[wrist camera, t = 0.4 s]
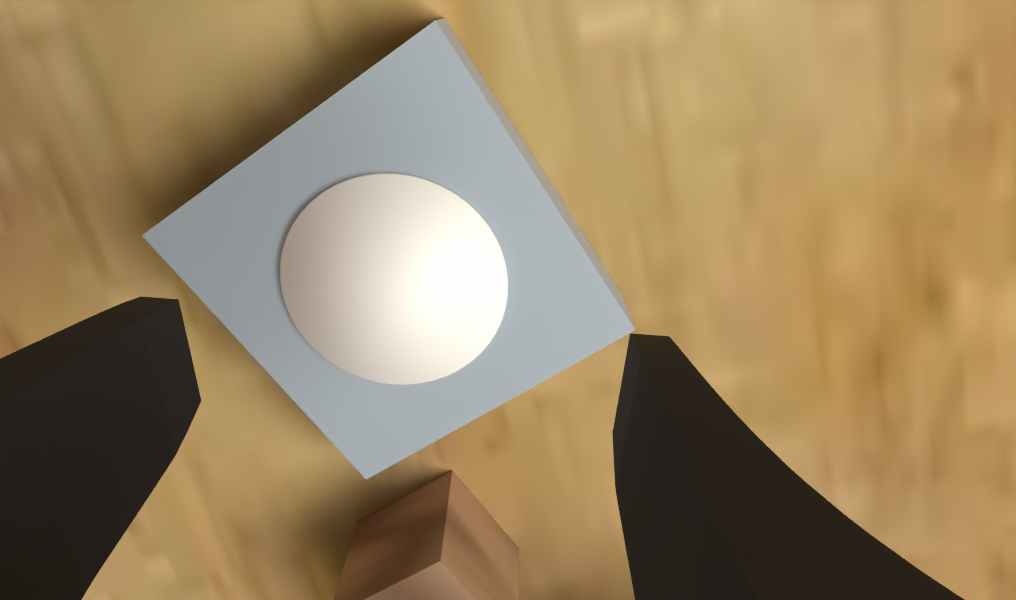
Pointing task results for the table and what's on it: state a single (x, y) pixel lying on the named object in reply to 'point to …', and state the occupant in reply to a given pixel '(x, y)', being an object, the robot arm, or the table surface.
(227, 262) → the plinth
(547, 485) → the table surface
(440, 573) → the walnut block
